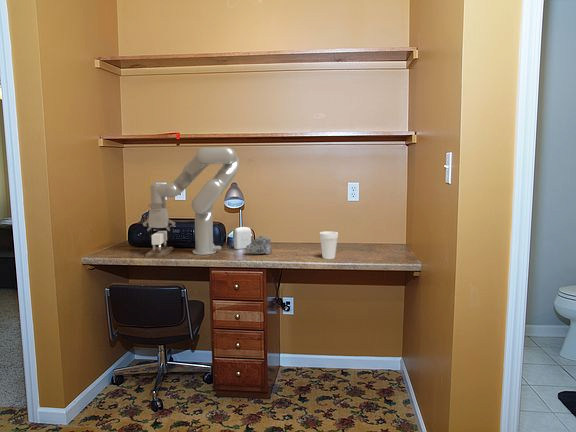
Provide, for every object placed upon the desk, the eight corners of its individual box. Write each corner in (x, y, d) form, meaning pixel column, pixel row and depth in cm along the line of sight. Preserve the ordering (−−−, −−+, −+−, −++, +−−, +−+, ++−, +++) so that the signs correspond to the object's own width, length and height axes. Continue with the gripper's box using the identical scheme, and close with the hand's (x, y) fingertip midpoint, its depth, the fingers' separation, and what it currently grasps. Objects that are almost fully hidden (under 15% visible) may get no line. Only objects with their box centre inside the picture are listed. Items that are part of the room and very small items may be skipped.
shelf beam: (160, 244, 235) (160, 235, 234) (151, 244, 235) (151, 235, 234) (167, 239, 250) (166, 230, 249) (159, 239, 249) (159, 230, 249)
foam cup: (335, 255, 236) (335, 231, 235) (340, 259, 227) (340, 233, 226) (317, 256, 235) (317, 231, 233) (321, 259, 226) (321, 234, 224)
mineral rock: (245, 255, 237) (245, 236, 235) (249, 251, 247) (249, 233, 246) (269, 256, 235) (269, 237, 234) (272, 252, 245) (272, 234, 244)
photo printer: (248, 246, 261) (248, 225, 259) (252, 248, 257) (252, 226, 256) (232, 248, 255) (232, 227, 254) (236, 250, 252) (236, 228, 250)
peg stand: (173, 249, 253) (173, 239, 252) (164, 256, 233) (164, 245, 232) (155, 249, 253) (155, 239, 252) (145, 257, 233) (145, 245, 232)
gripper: (140, 207, 236) (141, 239, 238) (173, 207, 236) (174, 239, 238) (144, 205, 243) (145, 236, 245) (176, 205, 244) (177, 236, 246)
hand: (159, 238), depth 242 cm, fingers open, 9 cm apart
